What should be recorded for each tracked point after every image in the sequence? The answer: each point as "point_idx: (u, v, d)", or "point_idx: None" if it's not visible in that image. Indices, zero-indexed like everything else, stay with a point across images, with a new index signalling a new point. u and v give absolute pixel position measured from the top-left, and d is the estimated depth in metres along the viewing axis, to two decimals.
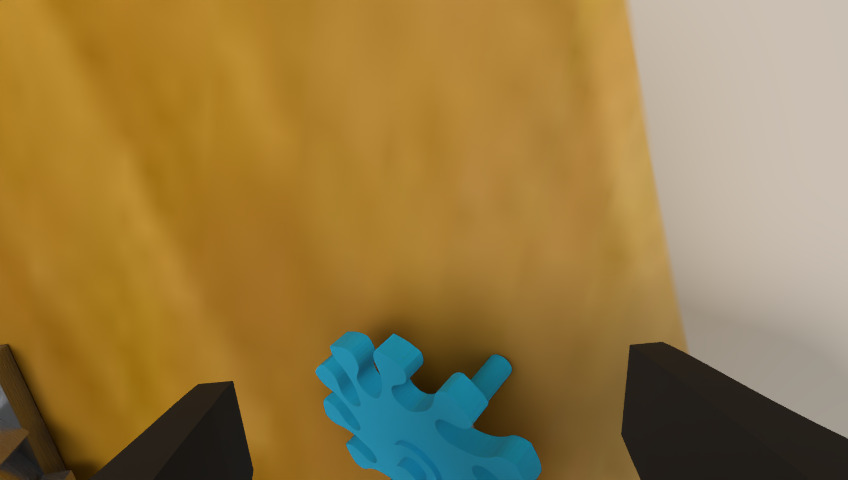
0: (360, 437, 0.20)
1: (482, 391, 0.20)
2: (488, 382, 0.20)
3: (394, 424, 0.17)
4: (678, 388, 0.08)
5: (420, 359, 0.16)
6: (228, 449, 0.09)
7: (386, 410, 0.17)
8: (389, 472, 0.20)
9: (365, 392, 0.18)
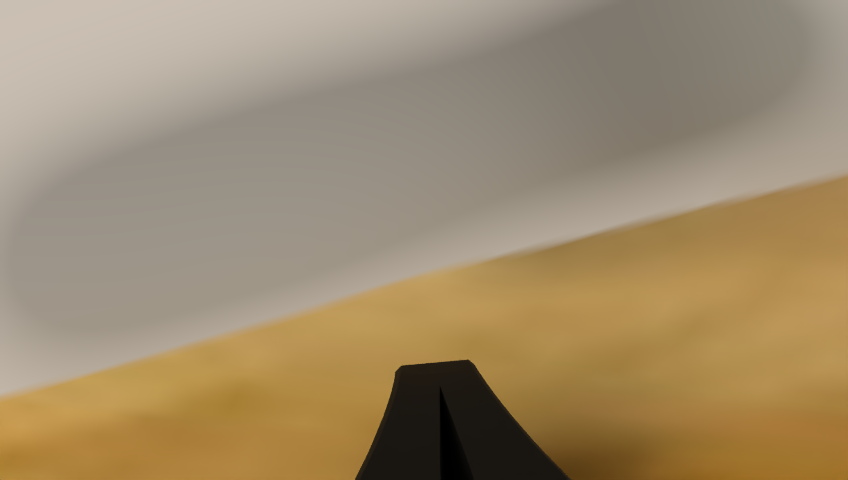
0: None
1: None
2: None
3: None
4: (446, 410, 0.08)
5: None
6: None
7: None
8: None
9: None
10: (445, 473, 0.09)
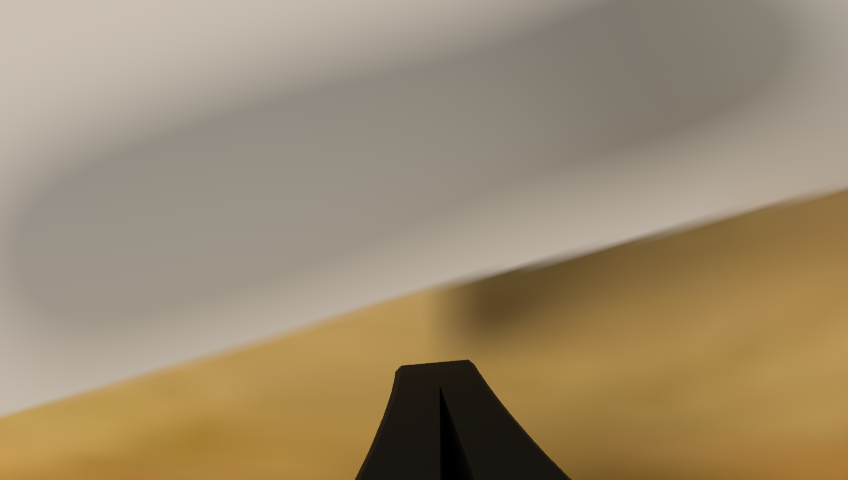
0: None
1: None
2: None
3: None
4: (446, 410, 0.08)
5: None
6: None
7: None
8: None
9: None
10: (445, 473, 0.09)
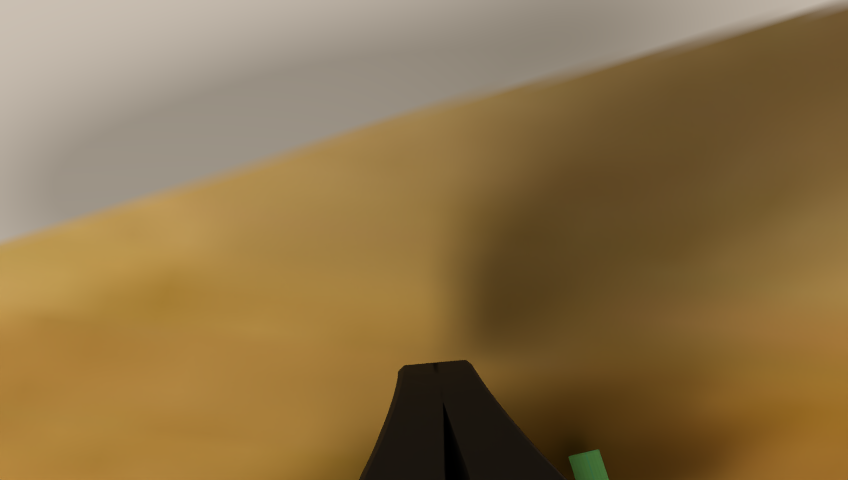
0: None
1: None
2: None
3: None
4: (443, 410, 0.08)
5: None
6: None
7: None
8: None
9: None
10: None
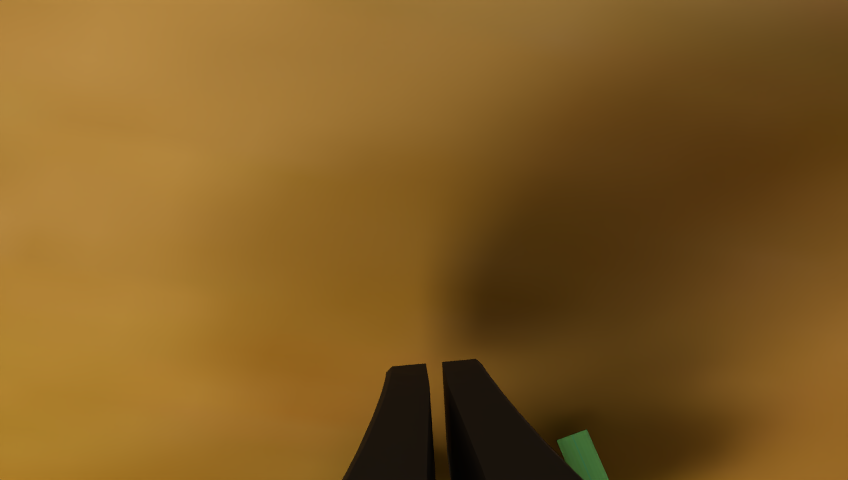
0: None
1: None
2: None
3: None
4: (455, 409, 0.08)
5: None
6: None
7: None
8: None
9: None
10: (453, 472, 0.09)
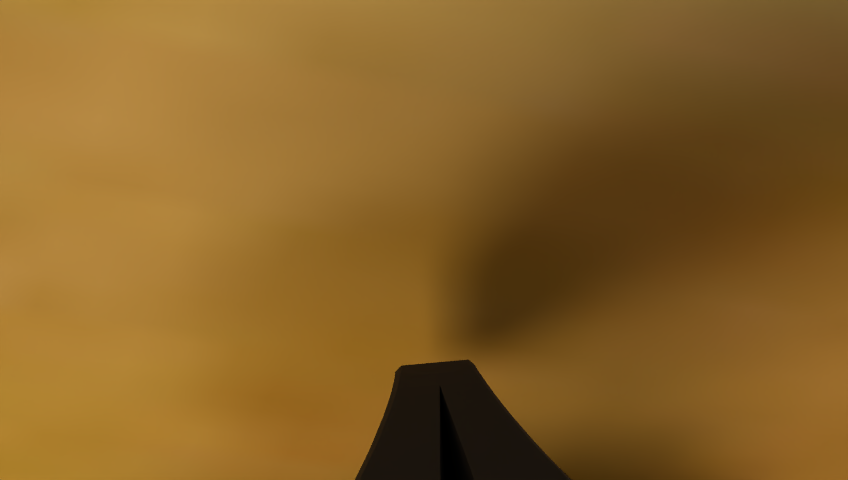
0: None
1: None
2: None
3: None
4: (446, 410, 0.08)
5: None
6: (441, 429, 0.09)
7: None
8: None
9: None
10: (445, 473, 0.09)
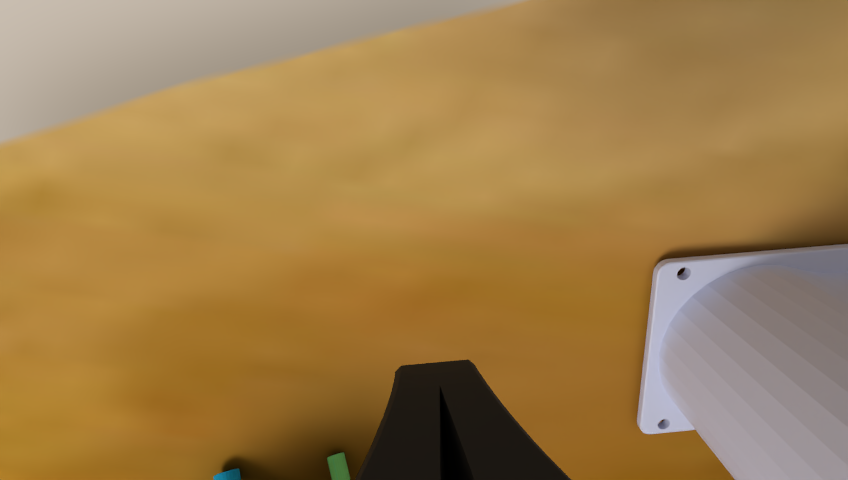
0: None
1: None
2: None
3: None
4: (446, 410, 0.08)
5: None
6: None
7: None
8: None
9: None
10: (445, 473, 0.09)
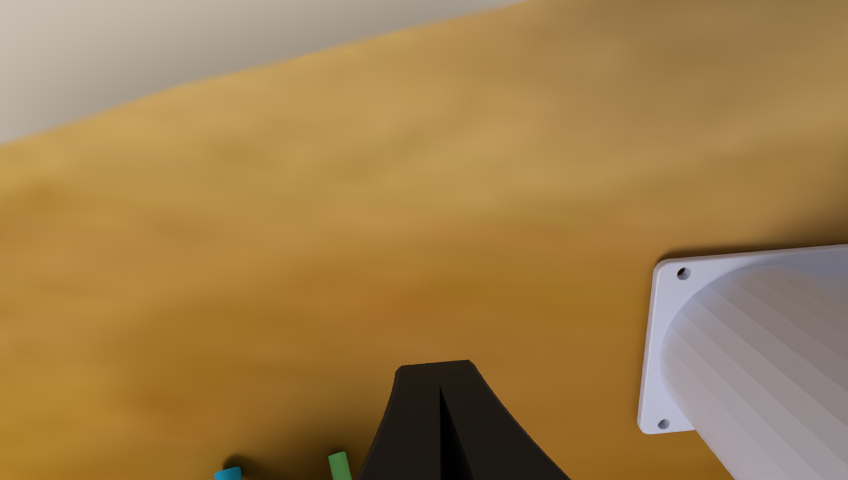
0: None
1: None
2: None
3: None
4: (446, 410, 0.08)
5: None
6: (441, 429, 0.09)
7: None
8: None
9: None
10: (445, 473, 0.09)
